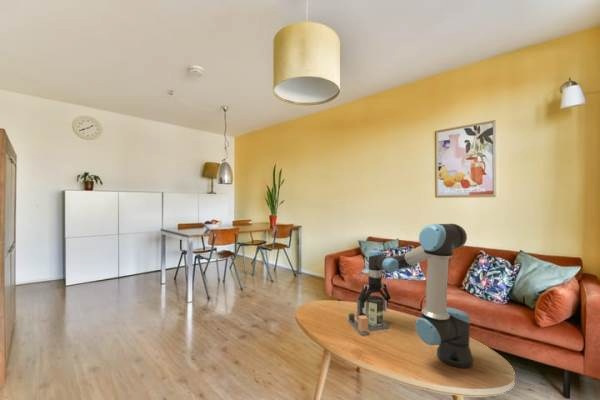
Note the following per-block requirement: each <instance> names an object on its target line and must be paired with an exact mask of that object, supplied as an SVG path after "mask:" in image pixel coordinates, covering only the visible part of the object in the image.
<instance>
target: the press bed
mask: <svg viewBox="0 0 600 400" xmlns="http://www.w3.org/2000/svg"><path fill="white" fill-rule="evenodd" d="M372 296H376V295H372ZM359 297H360V296H357V299H356V300H357V301H356V302H357V303H356V305H357V306H356V310H357V312H356V320H358V316H363V315H365V316H366V314H364V313H363V308H362V307H361V302H360V301H359V300H358V299H359ZM365 302H366V301H365ZM382 330H389V324H387V323H386V322H385V321H384V320H383V324H382V325H379V326H374V325H370V324H368V331H370V332H374V331H382Z"/></svg>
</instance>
